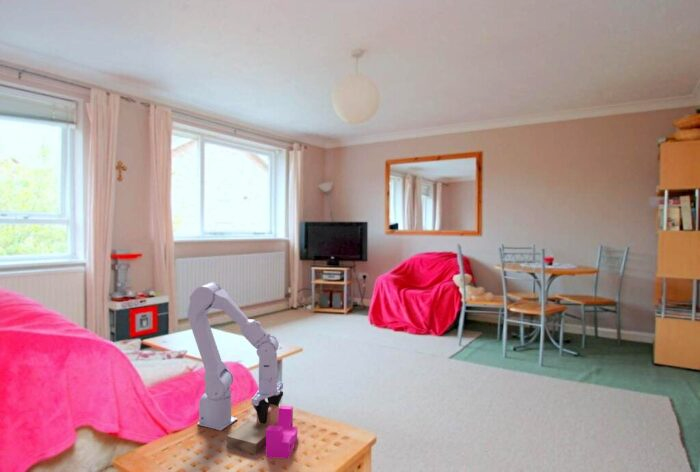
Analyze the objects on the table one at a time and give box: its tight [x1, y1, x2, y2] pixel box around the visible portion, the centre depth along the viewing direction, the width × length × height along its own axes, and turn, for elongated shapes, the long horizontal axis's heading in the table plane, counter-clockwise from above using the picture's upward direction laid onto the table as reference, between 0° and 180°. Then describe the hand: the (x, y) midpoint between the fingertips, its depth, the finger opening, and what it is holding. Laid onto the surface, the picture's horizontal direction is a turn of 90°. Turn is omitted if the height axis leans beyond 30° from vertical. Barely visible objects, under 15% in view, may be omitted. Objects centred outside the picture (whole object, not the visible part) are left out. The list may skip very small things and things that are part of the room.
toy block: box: [265, 405, 298, 459], centre depth 120 cm, size 15×6×8 cm, turn 174°
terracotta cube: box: [256, 404, 280, 426], centre depth 131 cm, size 5×5×5 cm
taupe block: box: [226, 420, 270, 455], centre depth 120 cm, size 10×10×3 cm
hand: (267, 418), depth 131 cm, fingers closed on terracotta cube, 5 cm apart
